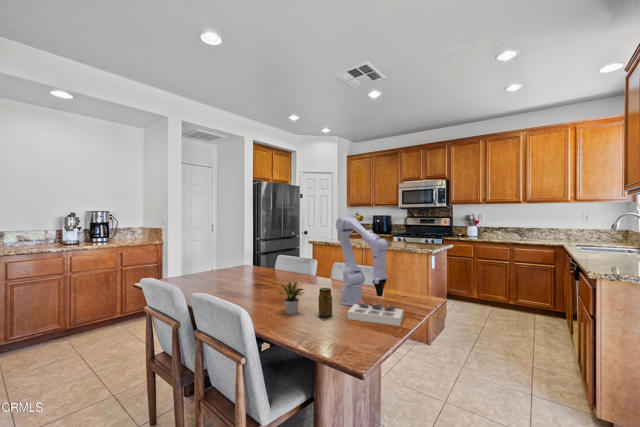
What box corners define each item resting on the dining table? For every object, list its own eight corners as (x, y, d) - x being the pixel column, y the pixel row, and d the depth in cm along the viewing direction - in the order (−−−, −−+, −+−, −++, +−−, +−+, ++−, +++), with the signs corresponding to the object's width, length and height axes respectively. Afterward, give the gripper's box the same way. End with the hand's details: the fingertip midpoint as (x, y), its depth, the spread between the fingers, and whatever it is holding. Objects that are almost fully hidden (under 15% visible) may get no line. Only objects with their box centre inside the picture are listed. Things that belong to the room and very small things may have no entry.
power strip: (347, 319, 124) (347, 311, 124) (357, 308, 138) (356, 300, 138) (399, 326, 116) (399, 317, 116) (404, 313, 130) (404, 306, 130)
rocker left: (358, 306, 129) (358, 302, 129) (359, 304, 132) (360, 301, 132) (366, 308, 128) (367, 305, 127) (368, 306, 130) (368, 303, 130)
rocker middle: (371, 308, 127) (371, 304, 127) (372, 306, 129) (372, 302, 129) (380, 309, 125) (380, 306, 125) (381, 307, 128) (381, 304, 128)
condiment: (328, 312, 134) (328, 286, 134) (337, 317, 126) (337, 290, 126) (314, 314, 130) (314, 288, 130) (323, 320, 123) (322, 292, 123)
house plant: (278, 321, 123) (277, 283, 123) (270, 311, 136) (269, 276, 135) (309, 316, 129) (308, 279, 128) (299, 306, 141) (298, 273, 141)
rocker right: (385, 311, 124) (384, 307, 124) (386, 309, 127) (385, 305, 127) (394, 310, 123) (393, 306, 123) (395, 308, 125) (394, 304, 126)
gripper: (385, 269, 121) (385, 301, 122) (391, 263, 135) (391, 292, 135) (368, 268, 124) (369, 299, 124) (376, 262, 137) (376, 290, 138)
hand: (379, 295), depth 130 cm, fingers closed
